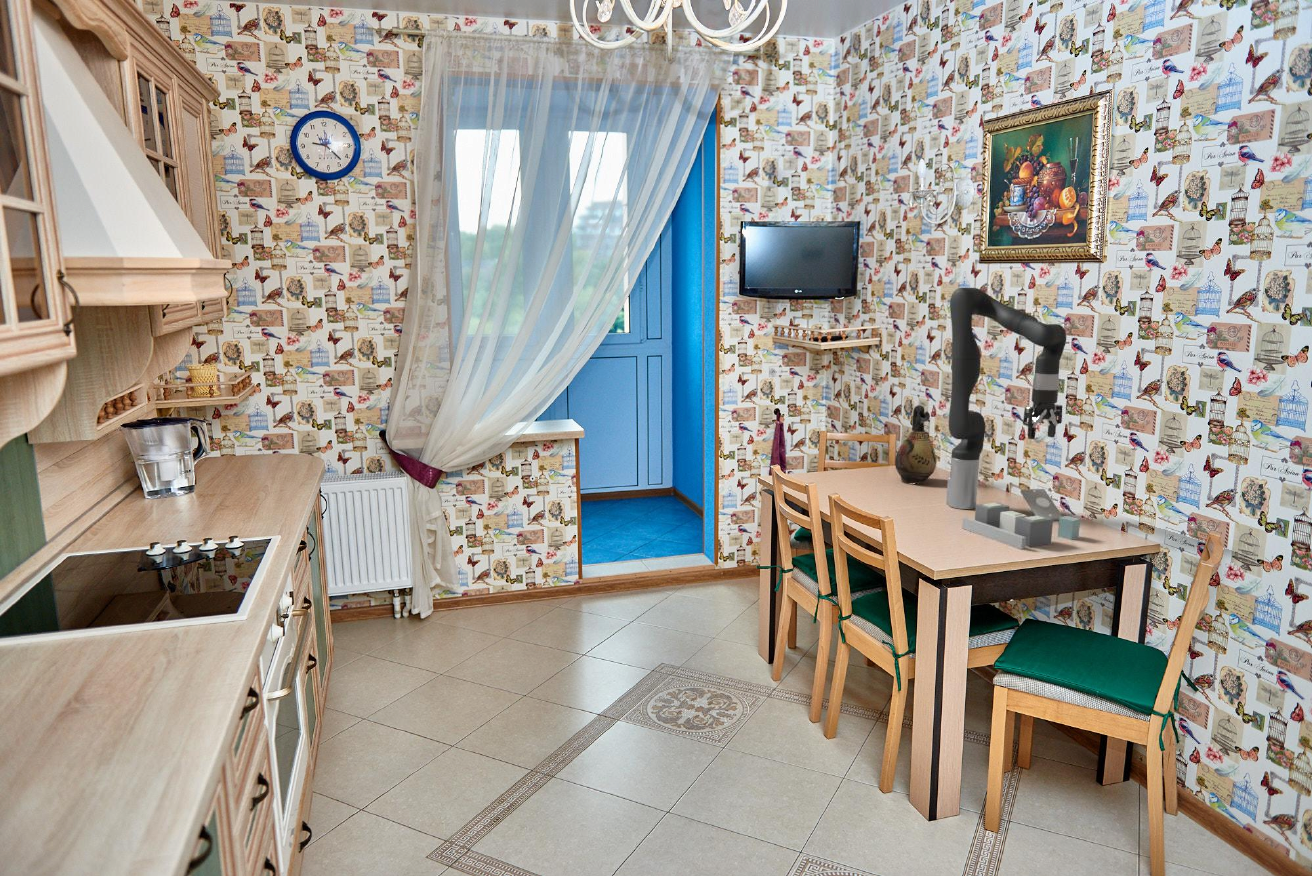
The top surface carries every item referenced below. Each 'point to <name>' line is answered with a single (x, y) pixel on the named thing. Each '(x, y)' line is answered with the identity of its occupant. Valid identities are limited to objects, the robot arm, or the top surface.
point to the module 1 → (1010, 520)
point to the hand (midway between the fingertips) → (1041, 438)
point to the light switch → (1041, 503)
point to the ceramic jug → (916, 452)
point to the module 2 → (1068, 527)
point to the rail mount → (1027, 534)
